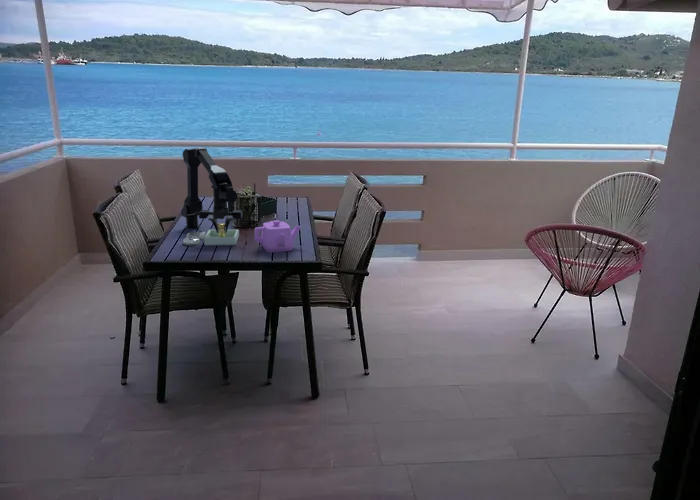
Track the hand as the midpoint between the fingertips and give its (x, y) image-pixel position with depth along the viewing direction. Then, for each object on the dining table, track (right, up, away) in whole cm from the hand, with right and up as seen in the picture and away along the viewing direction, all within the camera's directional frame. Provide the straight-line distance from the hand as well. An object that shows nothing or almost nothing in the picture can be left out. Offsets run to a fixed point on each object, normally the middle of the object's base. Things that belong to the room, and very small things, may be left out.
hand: (221, 232), depth 229 cm
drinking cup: (+8, +8, +38) cm, 40 cm away
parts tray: (0, -4, +1) cm, 4 cm away
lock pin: (0, -2, +1) cm, 2 cm away
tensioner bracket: (-13, -3, +1) cm, 14 cm away
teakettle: (+27, -7, -6) cm, 28 cm away
